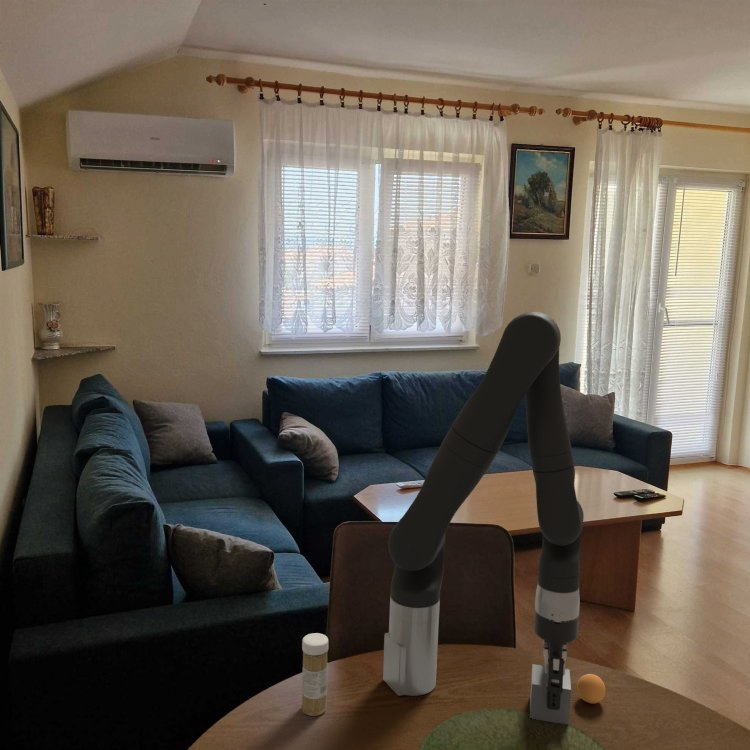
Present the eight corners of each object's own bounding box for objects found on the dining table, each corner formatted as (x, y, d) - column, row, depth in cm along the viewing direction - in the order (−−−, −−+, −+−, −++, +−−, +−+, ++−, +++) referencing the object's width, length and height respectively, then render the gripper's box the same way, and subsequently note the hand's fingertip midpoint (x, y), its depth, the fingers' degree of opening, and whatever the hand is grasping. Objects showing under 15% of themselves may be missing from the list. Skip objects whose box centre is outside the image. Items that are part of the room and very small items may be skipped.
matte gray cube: (568, 724, 126) (571, 689, 125) (529, 718, 127) (532, 683, 126) (566, 702, 132) (569, 669, 131) (530, 697, 134) (532, 664, 133)
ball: (589, 712, 130) (591, 686, 129) (570, 697, 134) (572, 672, 133) (610, 705, 132) (612, 679, 131) (590, 690, 136) (592, 666, 136)
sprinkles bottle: (314, 698, 131) (316, 629, 129) (332, 709, 128) (333, 638, 126) (295, 709, 128) (296, 638, 126) (313, 720, 125) (314, 648, 123)
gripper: (535, 589, 134) (531, 670, 137) (535, 625, 121) (530, 715, 123) (576, 593, 133) (572, 675, 135) (581, 631, 119) (576, 721, 121)
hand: (552, 694), depth 129 cm, fingers open, 8 cm apart
